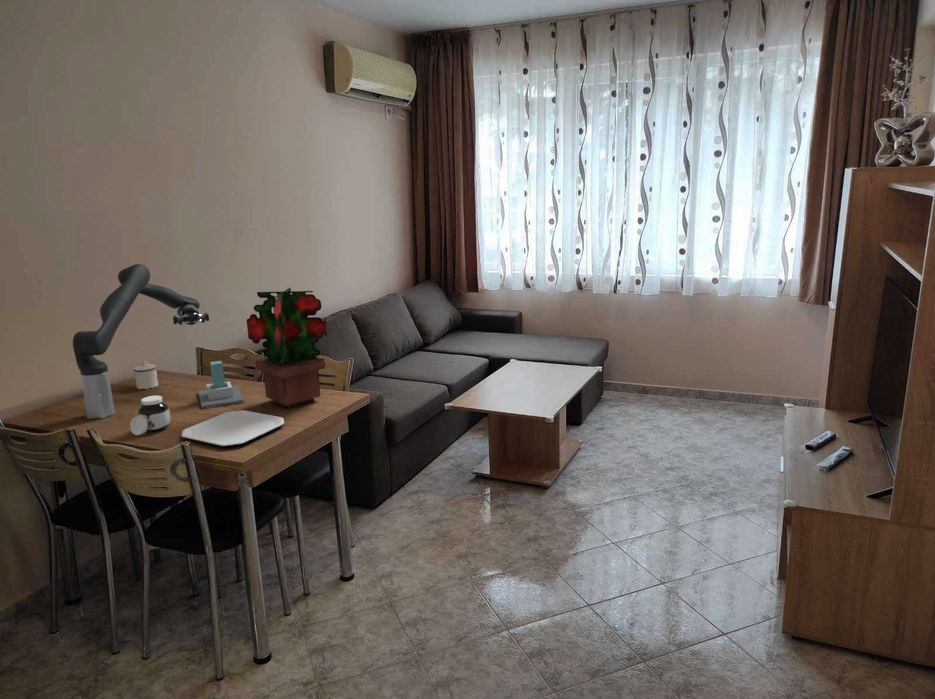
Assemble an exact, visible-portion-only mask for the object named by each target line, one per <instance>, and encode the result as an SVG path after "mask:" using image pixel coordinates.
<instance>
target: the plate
mask: <svg viewBox="0 0 935 699" xmlns="http://www.w3.org/2000/svg"><path fill="white" fill-rule="evenodd" d="M283 425H285V419H284V417H282V416H281V417H280V416H276V415H271V414H264V413H260V412H254V411H249V410H243V409H242V410H232V411H226V412H224V413H223V412H222V413H220V414H219V415H215V416H213V417H211V418H208V419H206V420H204V421H202V422H199V423H196V424H194V425H191V426H189V427H187V428H184V429H183V430H182V432H181V434H180V435H181V436H180V437H181V438H182V439H183V438H184V439H188V440H193V441H197V442H199V443H200V442H201V443H205V444H210V445H213V446H214V445H215V446H219V447H223V448H224V447H225V448H227V447H226V446H229V447H235V446H234V445H237V446H241V444H242V445H244V444H247V443H248V441H249V442H251V441H253V440H255V439H257V438H259V437H261V436H263V435H264V434H267V432H268V433H269V432H272V431H274V430H276V429H278V428H280V427H283ZM250 440H251V441H250Z"/></svg>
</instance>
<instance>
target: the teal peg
mask: <svg viewBox="0 0 935 699" xmlns="http://www.w3.org/2000/svg"><path fill="white" fill-rule="evenodd" d="M209 365H210V371H211V379H212V384H213V389H217V388H224V387H225V382H226V381H225V374H224V366H223V360H216V361H210V364H209Z"/></svg>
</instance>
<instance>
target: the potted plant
mask: <svg viewBox="0 0 935 699" xmlns="http://www.w3.org/2000/svg"><path fill="white" fill-rule="evenodd" d="M291 288H292V287H288V288H287V289H286V290H284V291H257V292H256V295H257V297H258V298H260V299H265V300H264V301H263V303H261V304H255V305H254V306H253V310H254V312H257V313H258V315H259V317H258V315H257V314H256V313H252V314H250V316H249V317H248V318H247V319H246V328H247V337H248V339H249V340H251V341H252V343H253V344H255V345H258V344H259V343H260V342H261V340H265V341H262V344H261V345H262V346H263V348H265V349H266V350H264V351H263V355H264V357H263V358H259V359H255V361H254V362H255V370H257V371H259V372H261V373H263V379H264V381H263V382H264V390H265V398H267V399H269V400H272V401H274V402H273V403H275V402H276V404H278V403H279V404H278V405H280V404H281V405H280V406H282V405H283V407H284V406H285V407H284V408H287V407H291V408H293V407H292V406H294V407H297V406H296V405H298V406H300V404H301V405H304V404H303V403H305V404H308V403H312V402H315V399H316V398H319V397H321V388H320V387H321V386H320V374H319V370H323V369H326V364H325V358H324V357H320V354H321V352H320V350H319V349H317V348H316V347H315V345H316V344H315V343H318V342H319V340H320V339H321V338H324V335H325V337H328V333H327V332H328V331H327V319H326V317H325V318H324V320H323V319H322V318H321V317H320V316H319V317H318V316H316V315H317V313H318V311H321V309H322V302H321V300H320V299H319V298H317V297H316V295H314V294H311V293H314V290H301V291H300V290H297V291H296V290H293V291H292V289H291ZM306 293H308V294H306ZM309 293H310V294H309ZM272 294H273V295H272ZM274 294H276V296H274ZM309 316H312V317H309ZM307 402H308V403H307Z"/></svg>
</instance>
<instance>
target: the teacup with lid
mask: <svg viewBox="0 0 935 699" xmlns="http://www.w3.org/2000/svg"><path fill="white" fill-rule="evenodd" d="M133 374H134V379H135V383H136V389H138V390H141V389H146V390H150V389H149V388H152V389H154V388H153V387H155V388H157V387H159V380H158V375H157V374H158V372H157V365H155V364H151V363H149V362H147V360H143V361H141V363H139V365H137V366H135V367H134V368H133ZM156 386H157V387H156Z"/></svg>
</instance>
